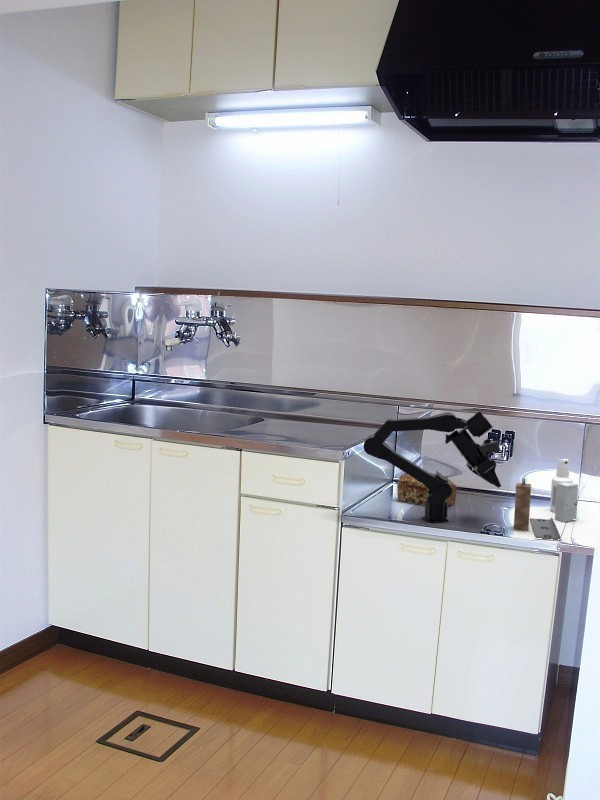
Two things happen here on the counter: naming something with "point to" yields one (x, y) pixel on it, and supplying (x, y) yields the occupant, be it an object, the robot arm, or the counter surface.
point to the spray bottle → (559, 480)
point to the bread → (418, 491)
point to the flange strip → (544, 529)
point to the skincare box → (566, 501)
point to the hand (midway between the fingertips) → (496, 485)
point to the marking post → (522, 506)
